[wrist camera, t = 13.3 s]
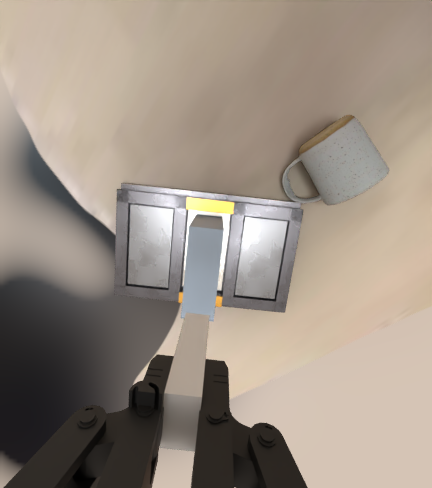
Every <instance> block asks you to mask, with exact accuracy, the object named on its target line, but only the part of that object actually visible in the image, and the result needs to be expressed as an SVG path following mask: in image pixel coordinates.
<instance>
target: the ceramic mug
mask: <svg viewBox="0 0 432 488" xmlns="http://www.w3.org/2000/svg"><path fill="white" fill-rule="evenodd" d="M299 155H300V156H299V157H298V158H297V159H295V160H294V161H293V162H292V163H291V164H290V165H289V166H288V167H287V168H286V170H285V172H284V174H283V177H282V185H283V188H284V191H285V193H286V195H287V196H288V197H289V198H290V199H291V200H293V201H295V202H298V203H304V204H305V203H312V202H316V201H319V200H323V201H324V203H325V204H326V205H335V204H338V203H341V202H344V201H347V200H349V199H351V198H353V197H356V196H358V195H359V194H361V193H363V192H365V191H367V190H368V189H370V188H372V187H373V186H374V185H376V184H377V183H378V182H380V181H381V180H383V179H384V178H385V177H386V176H387V174H388V172H389V168H388V166H387V164H386V163H385V161H384V160H383V158H382V157H381V155H380V153H379V152H378V150H377V149H376V147H375V145H374V144H373V142H372V141H371V139H370V138H369V136H368V134H367V133H366V131H365V129H364V128H363V126H362V125H361V123H360V122H359V121H358V120H357V119H356V118H355V117H354V116H352V115H346V116H344V117H342V118H341V119H339V120H338V121H336V122H335V123H333V124H332V125H330V126H329V127H327V128H326V129H324V130H323V131H321V132H320V133H319V134H317V135H316V136H314V137H313V138H312V139H310V140H309V141H307V142H306V143H305V144H303V145H302V146H301V147H300V150H299ZM299 161H302V163H303V165H304V167H305V168H306V170H307V172H308V174H309V175H310V177H311V179H312V181H313V183H314V185H315V187H316V189H317V190H318V192H319V194H320V195H319V196H316V197H313V198H306V199H304V198H299V197H297V196H296V195H294V193H293V191H292V189H291V187H290V184H289V182H290V181H289V179H288V178H287V174H288V172H289V170H290V168H291V167H293V166H294V165H295V164H296V163H298V162H299Z"/></svg>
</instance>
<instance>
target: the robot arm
mask: <svg viewBox="0 0 432 488" xmlns="http://www.w3.org/2000/svg"><path fill="white" fill-rule="evenodd" d="M209 316H210V315H203V314H194V313H186V314H185V318H184V321H183V325H182V329H181V333H180V336H179V340H178V344H177V347H176V351H175V355H174V356H165V355H156V356H155V357H154V358H153V359H152V360H151V362H150V364H149V367H148V370H147V372H146V375H145V377H144V380H143V381H140V382H137V383H136V384H134V385H133V386H132V387H131V389H130V390H129V407H128V408H126V409H124V410H122V411H119V412H114V413H108V414H106V412H105V410H104V409H103V408H101V407H100V406H95V405H91V406H86V407H83V408H81V409H79V410H78V411H76V412H75V413H74V414H73V415H72V416H71V417H70V418H69V419H68V420H67V421H66V422H65V423H64V424H63V425H62V426H61V427H60V429H59V430H58V431H57V432H56V433H55V434H54V435H53V436H52V437H51V438H50V439H49V440H48V441H47V443H45V444H44V446H43V447H42V448H41V449H40V450H39V451H38V452H37V453H36V454H35V455H34V456H33V457H32V458H31V459H30V460H29V461H28V462H27V463H26V465H25V466H24V467H23V468H22V469H21V470H20V471H19V472H18V473H17V474H16V475H15V476H14V477H13V478H12V479H11V480H10V481H9V482H8V484H7V485H6V486H5V487H4V488H152V483H153V479H154V475H155V470H156V466H157V462H158V450H159V446H160V448H167V449H177V450H186V451H195V455H194V465H193V473H192V483H191V488H234V487H236V488H307V486H306V484H305V481H304V480H303V477H302V475H301V473H300V471H299V469H298V467H297V465H296V463H295V461H294V459H293V457H292V454H291V452H290V451H289V448H288V446H287V444H286V442H285V440H284V438H283V436H282V434H281V433H280V431H279V430H278V429H276V428H275V427H274V426H272V425H270V424H267V423H258V424H255V425H254V426H253V427H252V428H250V427H247V426H245V425H243V424H241V423H239V422H238V421H237V420H235V419H234V417H233V416H232V415H231V412H230V408H229V378H228V367H227V365H226V364H225V362H224V361H217V360H208V359H206V349H207V338H208V327H209Z"/></svg>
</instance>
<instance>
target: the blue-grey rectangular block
mask: <svg viewBox="0 0 432 488" xmlns="http://www.w3.org/2000/svg"><path fill="white" fill-rule="evenodd" d="M223 236H224V224H223V217H220V216H210V215H201V214H196V216H195V218H194V219H193V221H192V222H191V224H190V225H189V231H188V242H187V254H186V265H185V277H184V288H183V300H182V312H181V318H185V314H186V313H194V314H203V315H210V316H209V321H214V313H215V304H216V296H217V287H218V278H219V270H220V261H221V253H222V244H223Z"/></svg>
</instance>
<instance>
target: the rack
mask: <svg viewBox="0 0 432 488" xmlns="http://www.w3.org/2000/svg"><path fill="white" fill-rule="evenodd" d="M300 207H301V203H298V202H289V201H280V200H271V199H262V198H253V197H244V196H235V195H226V194H217V193H208V192H199V191H190V190H181V189H171V188H162V187H153V186H144V185H135V184H126V183H121V189H117V211H116V251H115V254H116V255H115V291H114V292H115V293H114V295H120V296H129V297H139V298H148V299H158V300H167V301H177V302H179V303H182V300H183V288H184V277H185V265H186V254H187V242H188V231H189V225H190V224H191V222H192V221H193V219H194V218H195V216H196V214H201V215H210V216H220V217H223V224H224V236H223V244H222V253H221V261H220V270H219V278H218V287H217V296H216V304H215V306H217V307H221V306H225V307H235V308H244V309H254V310H264V311H273V312H284V313H285V309H286V303H287V298H288V292H289V287H290V281H291V276H292V270H293V265H294V259H295V254H296V248H297V243H298V237H299V232H300V226H301V221H302V215H303V210H302V209H300Z"/></svg>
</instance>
